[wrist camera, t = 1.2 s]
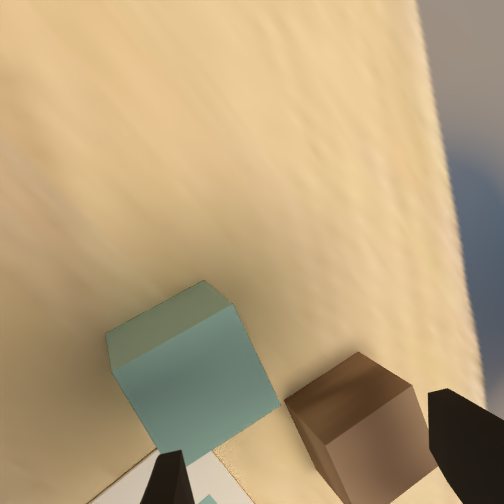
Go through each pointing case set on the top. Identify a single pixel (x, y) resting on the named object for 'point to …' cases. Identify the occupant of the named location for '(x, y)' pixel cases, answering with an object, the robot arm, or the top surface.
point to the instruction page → (200, 476)
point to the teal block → (191, 372)
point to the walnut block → (363, 431)
